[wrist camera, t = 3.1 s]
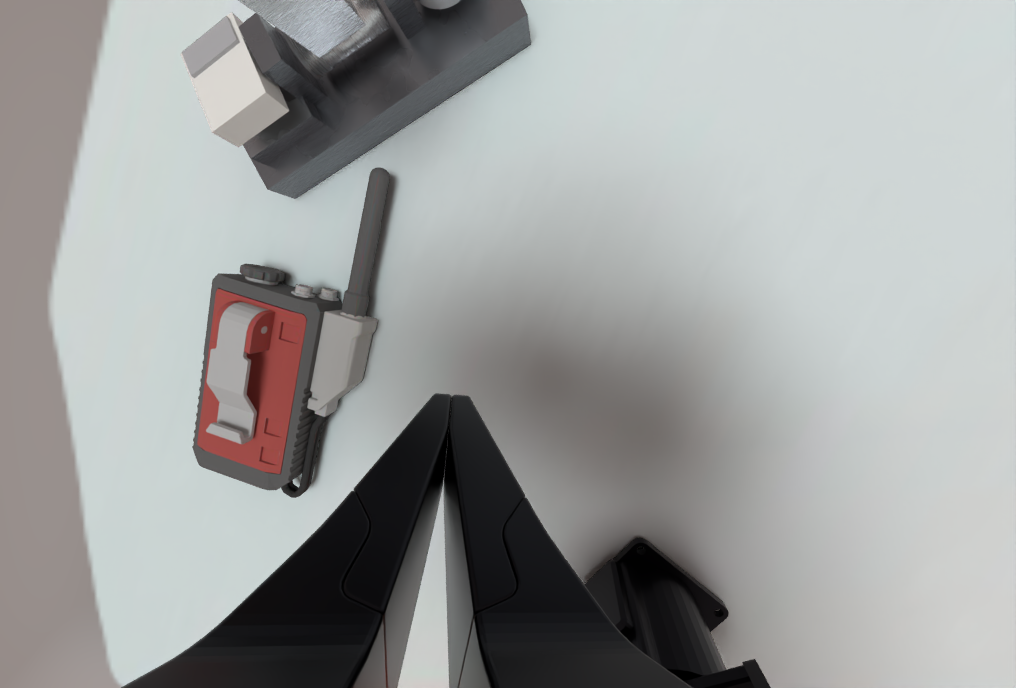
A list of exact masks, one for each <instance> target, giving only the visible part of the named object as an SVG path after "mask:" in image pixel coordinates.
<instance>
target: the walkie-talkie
mask: <svg viewBox="0 0 1016 688" xmlns="http://www.w3.org/2000/svg"><path fill="white" fill-rule="evenodd" d="M389 180H390V176H389V173H388V172H387V171H386V170H385V169H383V168H375V169H373V170H372V171H371V173H370V177H369V182H368V187H367V193H366V198H365V203H364V208H363V213H362V218H361V224H360V229H359V234H358V239H357V244H356V249H355V254H354V260H353V265H352V270H351V275H350V280H349V285H348V290H347V291H345V293H344V299H343V304H342V302H341V301H339V298H337V291H336V290H333V289H328V288H322V290H321V294H315V293H312V292H313V287H310V286H306V285H300V284H299V285H296V287H292V286H288V285H285V284H282V283H278V282H282V281H284V279H285V274H284V273H283V272H282V271H280V270H277V269H274V268H269V267H265V266H260V265H253V264H243V265H241V267H240V273H241V274H218V275H217V276H216V277H215V278H214V279H213V281H212V289H211V298H210V306H209V314H208V322H207V331H206V339H205V347H204V361H203V370H202V378H201V387H200V389H199V390H200V396H199V398H198V399H199V404H198V406H197V407H198V413H197V414H196V416H197V420H196V422H195V424H196V429H195V430H194V433H195V437H194V439H193V441H194V445H193V450H194V453H195V456H196V459H197V462H198V464H199V465H200V466H201V467H203V468H206V469H209V470H212V471H214V472H217V473H220V474H223V475H226V476H228V477H231V478H234V479H237V480H239V481H242V482H245V483H248V484H251V485H253V486H256V487H259V488H262V489H266V490H277V489H279V488H280V487H281V489H282V490H283V492H284V493H285V494H287V495H288V496H290V497H293V498H296V497H298V496H300V495H302V494H303V493H304V492H305V491H307V489H308V487H309V486H310V484H311V480H312V474H313V469H314V464H315V459H316V457H317V455H316V454H317V450H318V443H319V441H320V440H319V438H320V434H321V429H322V426H323V423H324V422H325V421H326V420H327V419H328V417H329V415H330V414H331V413H333V412H335V411H336V409H337V404H338V400H339V399H340V398H341V397H343V396H344V395H345V394H346V393H348V392H349V391H350V390H351V389H353V388H354V387H355V386H356V385H358V384H359V383H360V382H361V381H362V380H363V376H364V372H365V367H366V362H367V357H368V353H369V348H370V343H371V339H372V334H373V333H374V332H375V331H376V327H377V322H378V320H377V319H375V318H372V317H369V316H366V313H367V308H368V303H369V298H370V297H369V296H368V289H369V284H370V279H371V274H372V269H373V265H374V260H375V255H376V250H377V245H378V240H379V235H380V231H381V221H382V216H383V211H384V206H385V200H386V195H387V190H388V185H389ZM301 473H302V478H301V483H300V487H299V488H298V487H297V486H295V485H294V484H293V481H292V480H293V479H294V478H296V477H297V476H299V475H300V474H301Z"/></svg>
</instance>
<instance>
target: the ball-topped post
mask: <svg viewBox="0 0 1016 688" xmlns="http://www.w3.org/2000/svg"><path fill="white" fill-rule="evenodd" d="M238 1H240V2H241V3H243V4H244V5H245V6H247V7H248V8H250V9H251V10H253V11H254V12H255V13H257V14H258V15H260V16H261V17H263V18H264V19H265V20H267V21H268V22H270V23H271V24H272V25H274V26H275V27H277V28H278V29H280V30H281V31H282V34H283V36H284V38H285V40H286V42H287V44H288V45H289V47H290V49H291V50H292V52H293V53H294V55H295V56H296V57H297V59H298V60H299V61H300V62H301V64H302V65H303V66H304V67H305V68H306V70H307V71H308V72H309V73H310V74H311V75H313V76H314V77H315V78H317V79H320V78H321V77H322V76H324V75H325V74H327V73H328V72H329V71H331V70H332V69H333V68H335V67H336V66H338V65H339V64H340V63H342V62H343V61H345V60H346V59H347V58H349V57H350V56H351V55H353V54H354V53H356V52H357V51H358V50H360V49H361V48H362V47H364V46H365V45H367V44H368V43H369V42H371V41H372V40H373V39H375V38H376V37H378V36H379V35H380V34H382V33H383V32H385V31H386V30H387V29H389V28H390V27H391V25H390V23H389V20H388V18H387V16H386V14H385V12H384V10H383V8H382V7H381V5H380V3H379V1H378V0H238Z"/></svg>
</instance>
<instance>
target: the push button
mask: <svg viewBox="0 0 1016 688" xmlns="http://www.w3.org/2000/svg"><path fill="white" fill-rule="evenodd" d="M417 1H418V2H419V3H420V4H422V5H424V6H425V7H428V8H431V9H445V8H449V7H451V6H453V5H455V4H457V3H458V2H459V1H461V0H417Z"/></svg>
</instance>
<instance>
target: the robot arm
mask: <svg viewBox="0 0 1016 688" xmlns="http://www.w3.org/2000/svg"><path fill="white" fill-rule="evenodd" d="M451 399H452V401H451ZM450 410H451V411H450ZM449 420H450V421H449ZM448 430H449V432H448ZM447 441H448V442H447ZM446 451H447V453H446ZM445 461H446V463H445ZM444 471H445V474H444ZM443 480H444V524H445V558H446V591H447V625H448V659H449V688H770V686H769V684H768V682H767V680H766V678H765V677H764V675H763V673H762V671H761V669H760V667H759V666H758V664H757V662H756V660H755V659H753V660H749V661H745V662H742V663H743V665H742V666H739V667H735V668H731V669H727V670H726V668H725V665H724V663H723V661H722V659H721V656H720V654H719V652H718V649H717V647H716V645H715V642H714V640H713V638H712V636H711V633H710V632H711V631H712V630H713V629H714V628H716V627H717V626H718V625H719V624H720V623H721V622H723V621H724V620H725V619H726V618H727V617H728V610H727V608H726V606H725V604H724V603H723V602H722V601H721V600H720V599H719V598H717V597H716V596H715V595H714V594H712V593H711V592H710V591H709V590H707V589H706V588H705V587H704V586H702V585H701V584H700V583H699V582H697V581H696V580H695V579H694V578H692V577H691V576H690V575H689V574H687V573H686V572H685V571H684V570H683V569H681V568H680V567H679V566H678V565H676V564H675V563H674V562H673V561H671V560H670V559H669V558H668V557H666V556H665V555H664V554H663V553H661V552H660V551H659V550H658V549H656V548H655V547H654V546H653V545H651V544H650V543H649V542H648V541H646V540H645V539H643V538H636V539H634V540H633V541H632V542H631V543H630V544H629V545H628V546H627V547H626V548H624V549H623V550H622V551H621V552H620V553H619V554H618V555H617V556H616V557H615V558H614V559H613V560H611V561H608V562H607V563H606V564H605V565H604V566H603V567H602V568H601V569H600V570H599V571H598V572H597V573H596V574H595V575H594V576H593V577H592V578H591V579H590V580H589V581H588V582H587V583H586V584H585V585H584V584H583V582H582V581H581V580H580V578H579V577H578V575H577V574H576V573H575V571H574V570H573V569H572V567H571V566H570V565H569V563H568V562H567V560H566V559H565V558H564V556H563V555H562V553H561V552H560V551H559V549H558V548H557V546H556V545H555V543H554V542H553V540H552V539H551V538H550V536H549V535H548V533H547V532H546V530H545V528H544V527H543V525H542V523H541V522H540V520H539V518H538V517H537V515H536V514H535V512H534V510H533V508H532V507H531V505H530V503H529V501H528V499H527V498H525V494H524V493H523V491H522V489H521V487H520V485H519V484H518V482H517V480H516V478H515V477H514V475H513V473H512V471H511V470H510V468H509V466H508V464H507V462H506V461H505V459H504V457H503V455H502V454H501V452H500V450H499V448H498V446H497V445H496V443H495V441H494V439H493V438H492V436H491V434H490V432H489V430H488V429H487V427H486V425H485V423H484V422H483V420H482V418H481V416H480V415H479V413H478V411H477V409H476V407H475V406H474V404H473V402H472V400H471V399H470V397H469V396H465V395H453V396H452V397H451V395H450V394H439V393H436V394H434V395H433V396H432V397H431V398H430V400H429V401H428V402H427V403H426V404H425V405H424V407H423V408H422V409H421V410H420V411H419V413H418V414H417V415H416V416H415V417H414V418H413V420H412V421H411V422H410V423H409V424H408V426H407V427H406V428H405V429H404V430H403V431H402V433H401V434H400V435H399V436H398V437H397V438H396V440H395V441H394V442H393V443H392V444H391V446H390V447H389V448H388V449H387V450H386V451H385V453H384V454H383V455H382V456H381V457H380V458H379V460H378V461H377V462H376V463H375V464H374V466H373V467H372V468H371V469H370V470H369V471H368V473H367V474H366V475H365V476H364V477H363V478H362V480H361V481H360V482H359V483H358V484H357V486H356V487H355V488H354V491H351V492H350V494H349V495H348V496H347V497H346V498H345V499H344V501H343V502H342V503H341V504H340V505H339V506H338V508H337V509H336V510H335V511H334V512H333V513H332V514H331V515H330V516H329V518H328V519H327V520H326V521H325V522H324V523H323V524H322V525H321V526H320V527H319V528H318V529H317V530H316V531H315V532H314V533H313V534H312V535H311V536H310V537H309V538H308V539H307V540H306V541H305V542H304V543H303V544H302V545H301V546H300V547H299V548H298V549H297V550H296V551H295V552H294V553H293V554H292V555H291V556H290V557H289V558H288V559H287V560H286V561H285V562H284V563H283V564H282V565H281V566H280V567H279V568H278V569H277V570H276V571H274V572H273V573H272V574H271V575H270V576H269V577H268V578H267V579H266V580H265V581H264V582H263V583H262V584H261V585H260V586H259V587H258V588H257V589H256V590H255V591H254V592H253V593H251V594H250V595H249V596H248V597H247V598H246V599H245V600H244V601H243V602H242V603H241V604H240V605H239V606H238V607H237V608H236V609H235V610H234V611H233V612H232V613H231V614H229V615H228V616H227V617H226V618H225V619H224V620H223V621H222V622H221V623H220V624H219V625H218V626H216V627H215V628H214V629H213V630H212V631H210V632H209V633H208V634H207V635H205V636H204V637H203V638H202V639H200V640H199V641H198V642H196V643H195V644H194V645H192V646H191V647H190V648H188V649H187V650H185V651H184V652H182V653H181V654H179V655H178V656H176V657H175V658H173V659H171V660H170V661H168V662H166V663H165V664H163V665H161V666H159V667H157V668H156V669H154V670H152V671H150V672H148V673H147V674H145V675H143V676H141V677H139V678H138V679H136V680H134V681H132V682H130V683H129V684H127V685H125V686H123V687H121V688H397V686H398V682H399V677H400V673H401V668H402V664H403V660H404V655H405V651H406V646H407V642H408V638H409V633H410V629H411V624H412V620H413V616H414V611H415V607H416V602H417V598H418V594H419V589H420V585H421V580H422V576H423V572H424V567H425V563H426V558H427V554H428V550H429V545H430V541H431V536H432V532H433V528H434V523H435V519H436V514H437V510H438V506H439V501H440V497H441V492H442V487H443ZM638 547H644V549H642V550H638V549H637V548H638ZM717 609H720V610H718V611H715V610H717Z"/></svg>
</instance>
